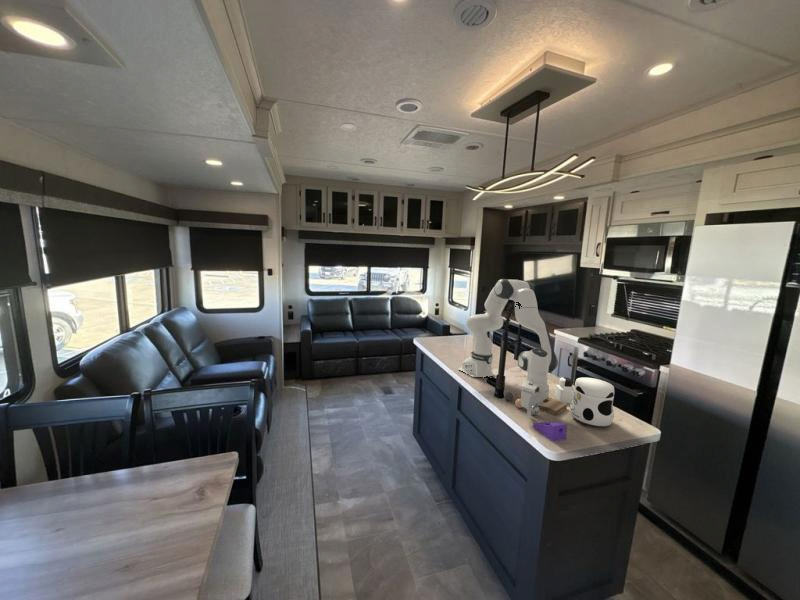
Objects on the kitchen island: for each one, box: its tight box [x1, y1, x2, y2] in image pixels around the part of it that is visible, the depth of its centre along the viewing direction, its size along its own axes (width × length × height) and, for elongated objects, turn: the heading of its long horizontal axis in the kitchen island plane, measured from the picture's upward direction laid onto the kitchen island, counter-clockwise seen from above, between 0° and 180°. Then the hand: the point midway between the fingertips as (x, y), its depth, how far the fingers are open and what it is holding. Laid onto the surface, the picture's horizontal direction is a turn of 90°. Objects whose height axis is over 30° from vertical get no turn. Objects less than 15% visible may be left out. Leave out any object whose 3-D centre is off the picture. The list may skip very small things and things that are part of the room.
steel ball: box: [531, 405, 540, 416], centre depth 152 cm, size 4×4×4 cm
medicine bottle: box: [554, 376, 574, 404], centre depth 168 cm, size 7×7×12 cm
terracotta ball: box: [514, 398, 524, 409], centre depth 159 cm, size 4×4×4 cm
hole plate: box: [516, 393, 568, 416], centre depth 163 cm, size 20×12×2 cm, turn 40°
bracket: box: [532, 421, 568, 442], centre depth 137 cm, size 12×7×7 cm, turn 14°
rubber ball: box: [504, 391, 514, 401], centre depth 167 cm, size 4×4×4 cm
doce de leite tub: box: [569, 377, 615, 428], centre depth 147 cm, size 17×17×18 cm
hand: (534, 411), depth 152 cm, fingers open, 7 cm apart
